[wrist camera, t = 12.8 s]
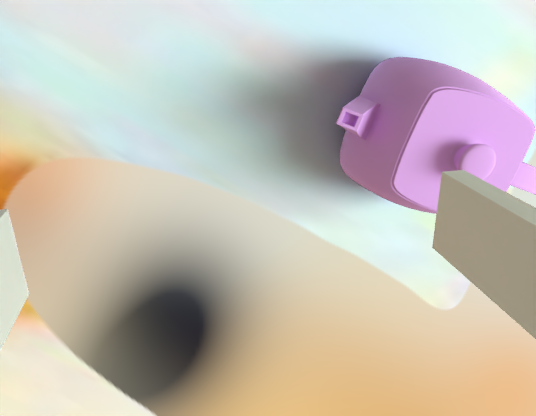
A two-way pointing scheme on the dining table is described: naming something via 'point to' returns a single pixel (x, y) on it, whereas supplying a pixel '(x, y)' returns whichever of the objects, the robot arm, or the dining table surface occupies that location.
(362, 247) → the dining table surface
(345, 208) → the dining table surface
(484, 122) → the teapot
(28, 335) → the dining table surface
